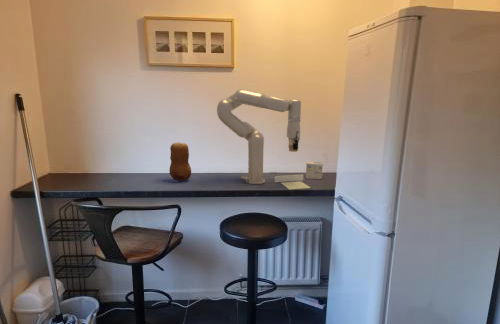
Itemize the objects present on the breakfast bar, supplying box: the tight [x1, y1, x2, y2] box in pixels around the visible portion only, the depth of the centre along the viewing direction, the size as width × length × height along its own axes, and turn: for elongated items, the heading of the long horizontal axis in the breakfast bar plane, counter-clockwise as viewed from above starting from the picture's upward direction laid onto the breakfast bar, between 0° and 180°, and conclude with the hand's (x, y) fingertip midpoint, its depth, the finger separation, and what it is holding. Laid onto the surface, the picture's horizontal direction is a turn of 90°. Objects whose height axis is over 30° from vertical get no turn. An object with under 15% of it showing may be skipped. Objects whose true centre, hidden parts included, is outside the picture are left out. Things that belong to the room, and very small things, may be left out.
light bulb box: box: [305, 161, 323, 180], centre depth 212 cm, size 11×7×11 cm, turn 84°
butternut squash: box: [168, 142, 192, 182], centre depth 200 cm, size 14×13×25 cm
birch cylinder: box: [288, 138, 299, 153], centre depth 195 cm, size 6×6×8 cm
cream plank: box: [274, 174, 304, 183], centre depth 204 cm, size 20×1×4 cm, turn 105°
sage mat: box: [280, 181, 311, 191], centre depth 194 cm, size 14×14×1 cm
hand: (293, 148), depth 196 cm, fingers closed on birch cylinder, 5 cm apart
